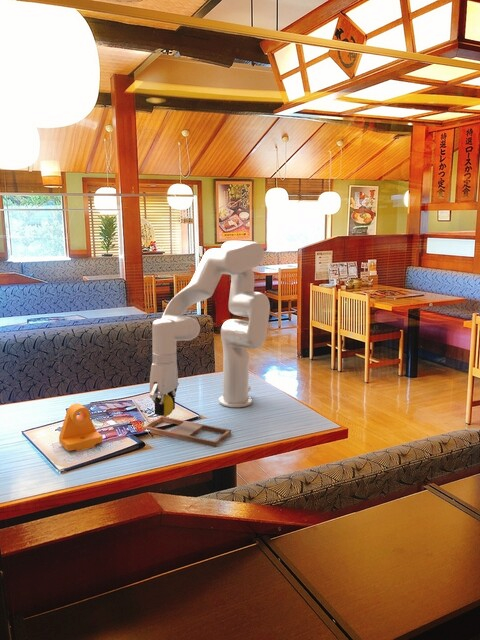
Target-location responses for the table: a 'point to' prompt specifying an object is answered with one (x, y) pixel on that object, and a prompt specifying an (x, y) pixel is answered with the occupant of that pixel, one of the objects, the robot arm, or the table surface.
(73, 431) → the bracket
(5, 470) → the table surface
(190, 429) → the wooden frame
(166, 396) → the lemon
